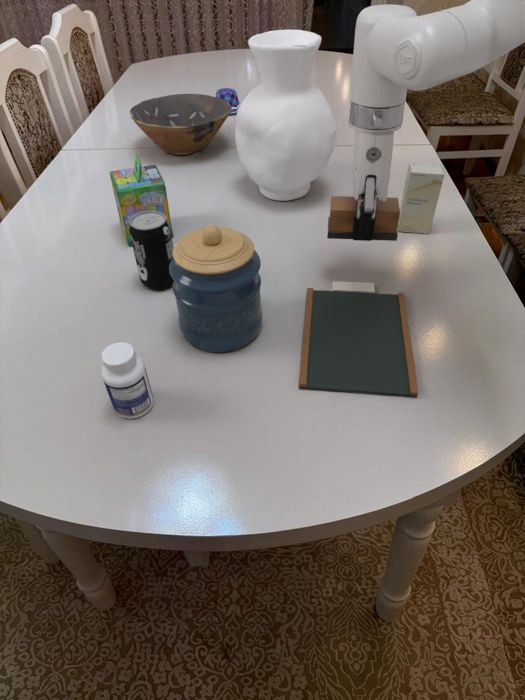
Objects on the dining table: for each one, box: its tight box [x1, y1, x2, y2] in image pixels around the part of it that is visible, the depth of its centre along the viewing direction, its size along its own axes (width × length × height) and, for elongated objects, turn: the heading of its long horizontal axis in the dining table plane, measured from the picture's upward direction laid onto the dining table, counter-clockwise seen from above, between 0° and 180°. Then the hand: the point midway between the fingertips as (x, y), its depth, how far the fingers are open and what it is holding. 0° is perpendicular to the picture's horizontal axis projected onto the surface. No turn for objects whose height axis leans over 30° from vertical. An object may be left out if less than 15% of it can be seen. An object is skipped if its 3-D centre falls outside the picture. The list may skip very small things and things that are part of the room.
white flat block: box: [353, 281, 376, 293], centre depth 84 cm, size 4×2×1 cm
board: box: [298, 287, 419, 399], centre depth 75 cm, size 16×22×1 cm
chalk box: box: [109, 154, 174, 247], centre depth 95 cm, size 9×9×15 cm
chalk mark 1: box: [332, 280, 354, 292], centre depth 85 cm, size 4×2×1 cm
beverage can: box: [129, 211, 174, 291], centre depth 83 cm, size 7×7×12 cm
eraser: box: [326, 195, 400, 242], centre depth 80 cm, size 11×5×5 cm, turn 83°
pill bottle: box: [101, 341, 154, 420], centre depth 64 cm, size 5×5×10 cm
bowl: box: [129, 93, 232, 156], centre depth 126 cm, size 25×25×10 cm
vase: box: [234, 28, 338, 202], centre depth 101 cm, size 19×21×30 cm
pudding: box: [215, 87, 243, 115], centre depth 149 cm, size 12×12×5 cm
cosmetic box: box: [397, 162, 445, 235], centre depth 95 cm, size 6×4×12 cm
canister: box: [169, 224, 263, 353], centre depth 72 cm, size 13×13×18 cm
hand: (361, 229), depth 81 cm, fingers closed on eraser, 5 cm apart
